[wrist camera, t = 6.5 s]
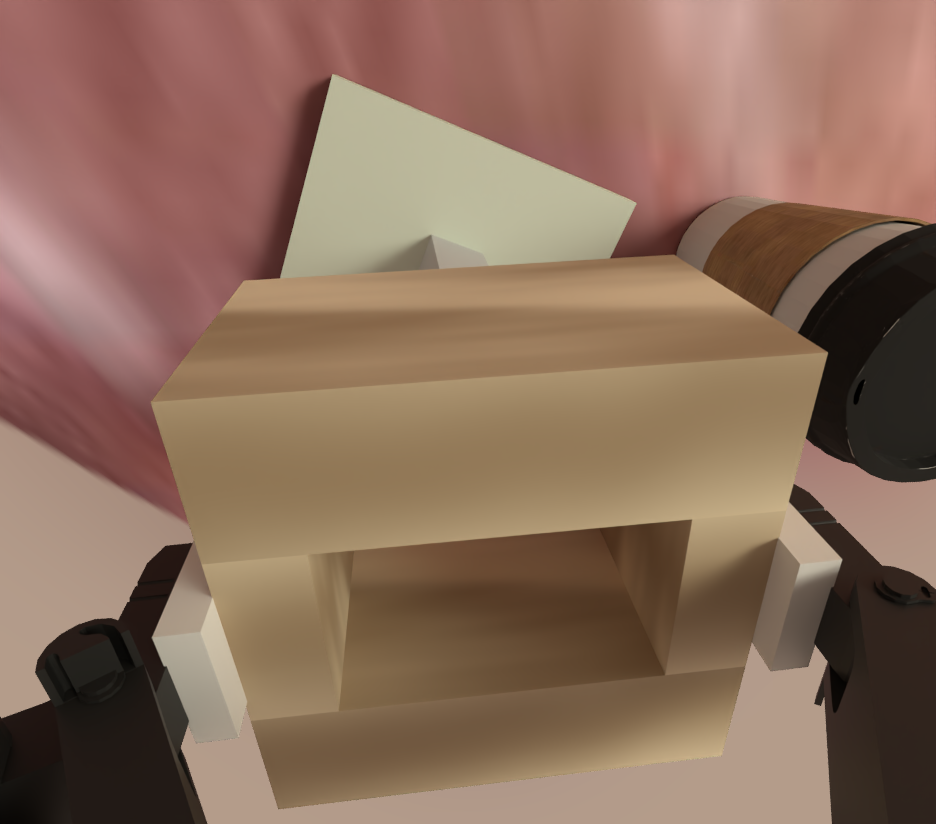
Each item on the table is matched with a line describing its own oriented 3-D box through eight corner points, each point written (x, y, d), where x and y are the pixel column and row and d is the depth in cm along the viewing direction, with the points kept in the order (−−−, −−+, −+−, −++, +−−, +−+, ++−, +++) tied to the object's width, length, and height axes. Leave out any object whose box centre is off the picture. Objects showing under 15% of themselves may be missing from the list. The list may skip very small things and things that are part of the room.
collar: (634, 572, 19) (721, 755, 14) (312, 604, 19) (278, 808, 13) (673, 254, 15) (828, 352, 9) (243, 280, 14) (150, 402, 9)
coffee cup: (661, 169, 29) (885, 245, 16) (832, 166, 30) (1181, 236, 16) (638, 338, 33) (801, 511, 20) (789, 331, 34) (1043, 494, 20)
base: (259, 367, 31) (217, 456, 24) (335, 74, 26) (311, 72, 18) (510, 439, 35) (541, 537, 28) (625, 197, 29) (704, 238, 22)
